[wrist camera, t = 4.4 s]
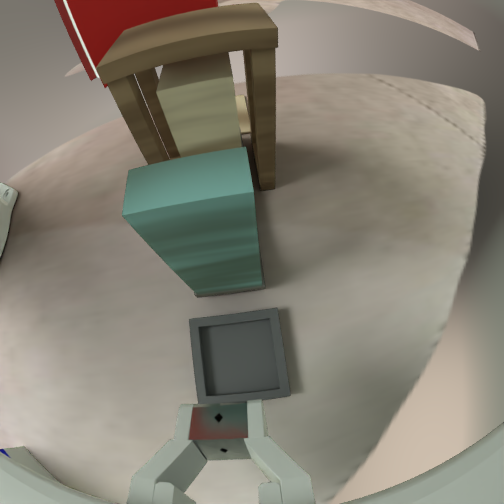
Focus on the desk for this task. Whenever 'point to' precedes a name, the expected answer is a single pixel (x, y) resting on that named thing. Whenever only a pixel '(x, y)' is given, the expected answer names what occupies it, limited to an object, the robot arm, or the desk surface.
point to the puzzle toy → (27, 460)
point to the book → (114, 22)
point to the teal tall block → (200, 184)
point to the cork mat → (242, 114)
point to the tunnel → (186, 47)
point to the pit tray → (239, 357)
